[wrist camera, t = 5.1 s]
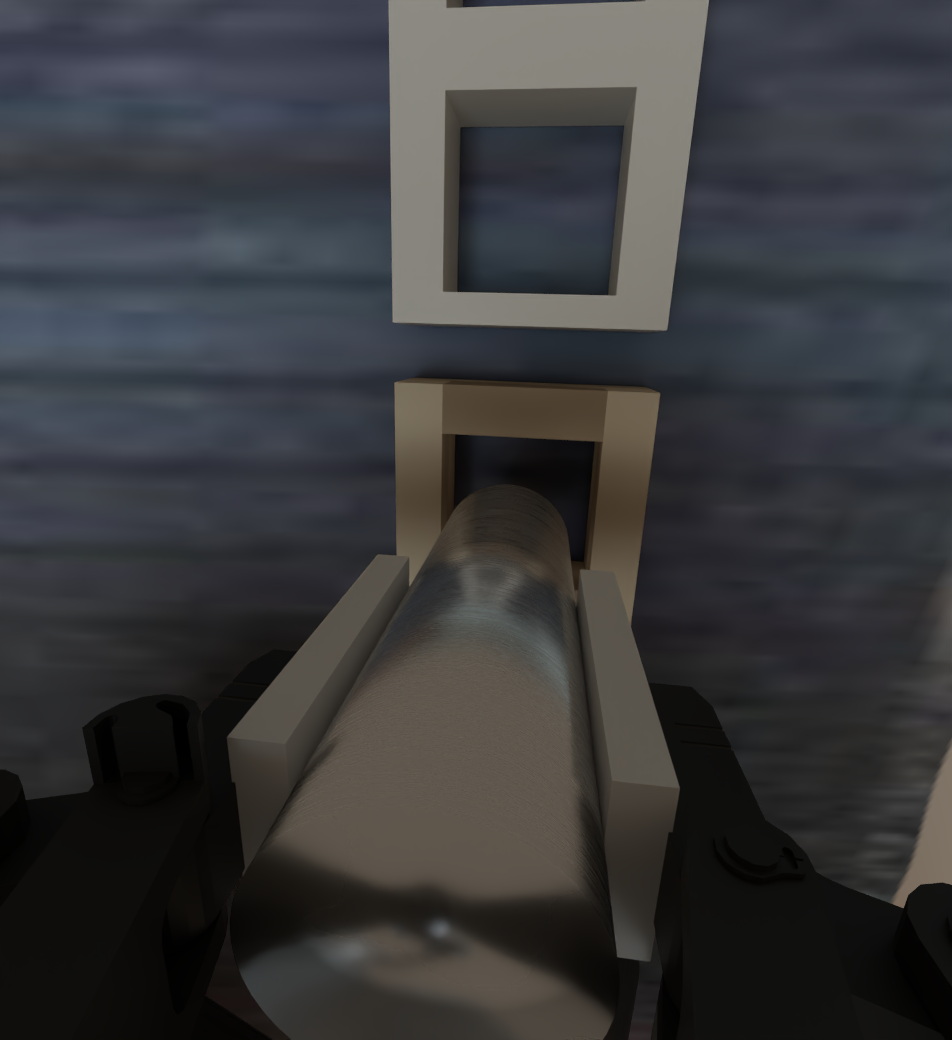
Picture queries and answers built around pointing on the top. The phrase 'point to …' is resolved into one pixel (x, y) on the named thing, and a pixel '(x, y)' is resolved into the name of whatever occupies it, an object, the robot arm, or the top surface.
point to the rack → (541, 102)
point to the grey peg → (448, 816)
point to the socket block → (527, 414)
